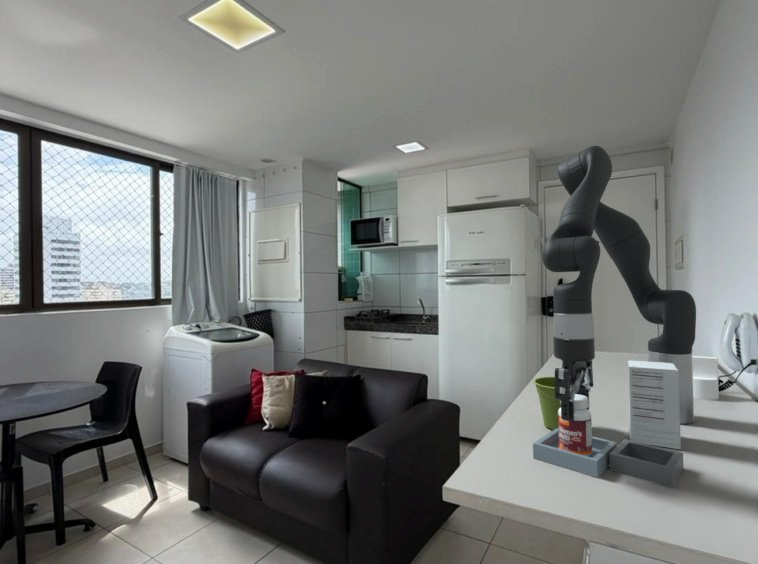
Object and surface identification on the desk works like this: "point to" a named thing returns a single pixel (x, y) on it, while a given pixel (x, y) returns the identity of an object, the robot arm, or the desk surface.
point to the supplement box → (654, 404)
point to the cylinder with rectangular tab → (705, 378)
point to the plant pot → (548, 401)
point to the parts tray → (574, 454)
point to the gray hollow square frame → (647, 462)
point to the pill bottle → (577, 428)
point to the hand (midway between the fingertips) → (575, 414)
